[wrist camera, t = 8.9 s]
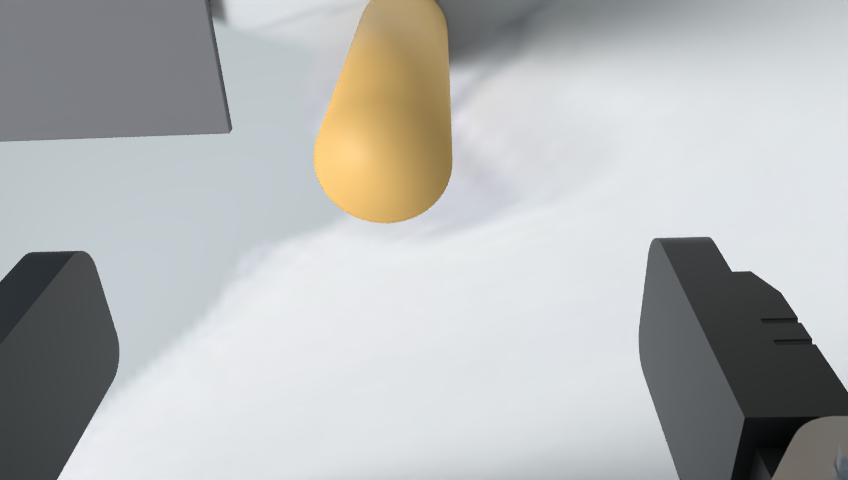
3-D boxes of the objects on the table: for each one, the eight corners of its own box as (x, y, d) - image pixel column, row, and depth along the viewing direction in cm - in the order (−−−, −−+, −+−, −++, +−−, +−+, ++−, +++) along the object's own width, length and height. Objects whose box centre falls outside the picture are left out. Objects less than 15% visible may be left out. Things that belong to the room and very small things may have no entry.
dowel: (449, 74, 25) (453, 221, 16) (363, 77, 25) (322, 225, 16) (446, -15, 23) (450, 92, 15) (355, -11, 23) (305, 98, 15)
